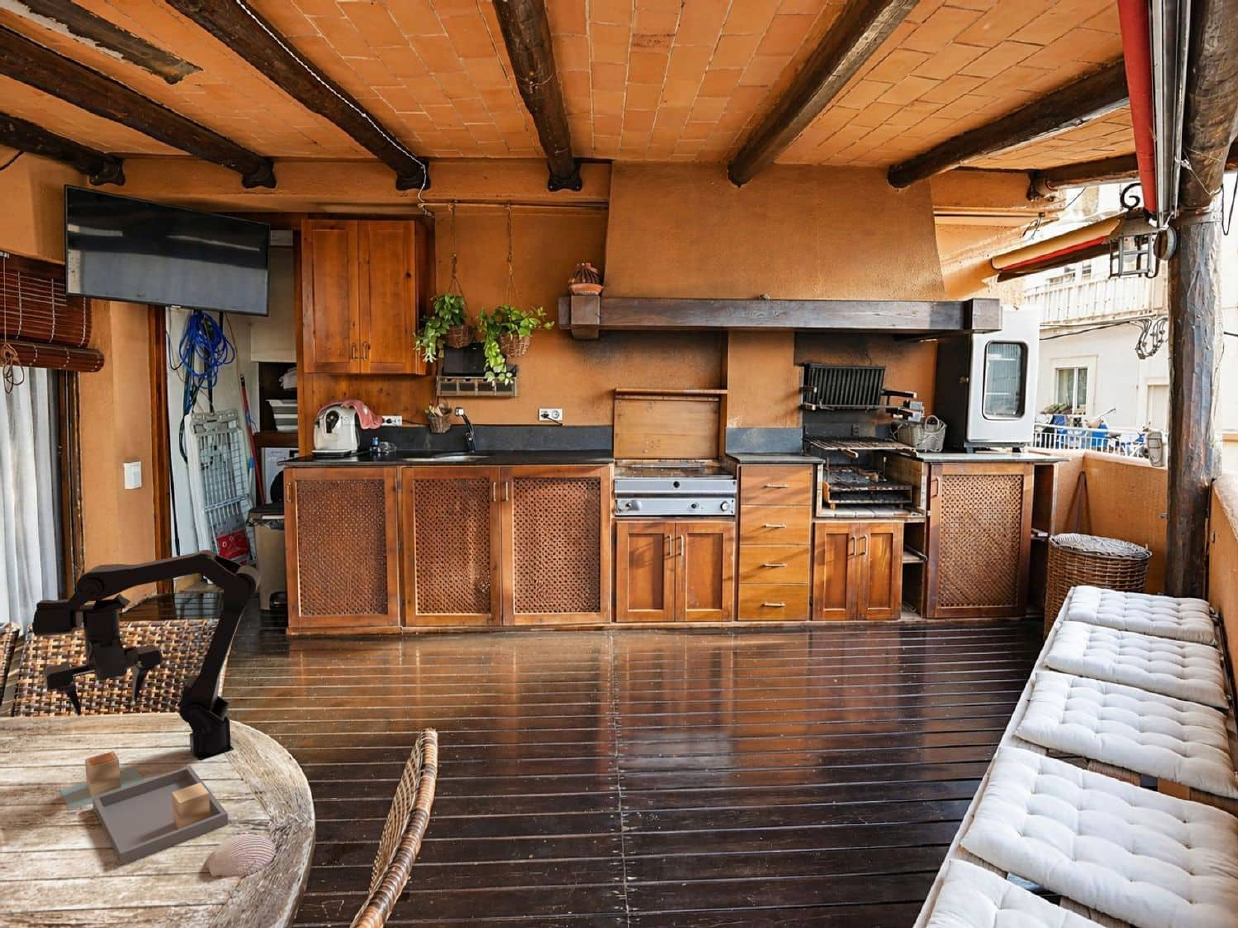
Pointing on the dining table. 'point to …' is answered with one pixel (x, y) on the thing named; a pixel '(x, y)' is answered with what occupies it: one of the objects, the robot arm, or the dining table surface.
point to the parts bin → (151, 815)
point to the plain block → (190, 805)
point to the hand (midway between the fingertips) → (107, 707)
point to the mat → (82, 796)
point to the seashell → (240, 855)
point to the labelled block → (102, 773)
